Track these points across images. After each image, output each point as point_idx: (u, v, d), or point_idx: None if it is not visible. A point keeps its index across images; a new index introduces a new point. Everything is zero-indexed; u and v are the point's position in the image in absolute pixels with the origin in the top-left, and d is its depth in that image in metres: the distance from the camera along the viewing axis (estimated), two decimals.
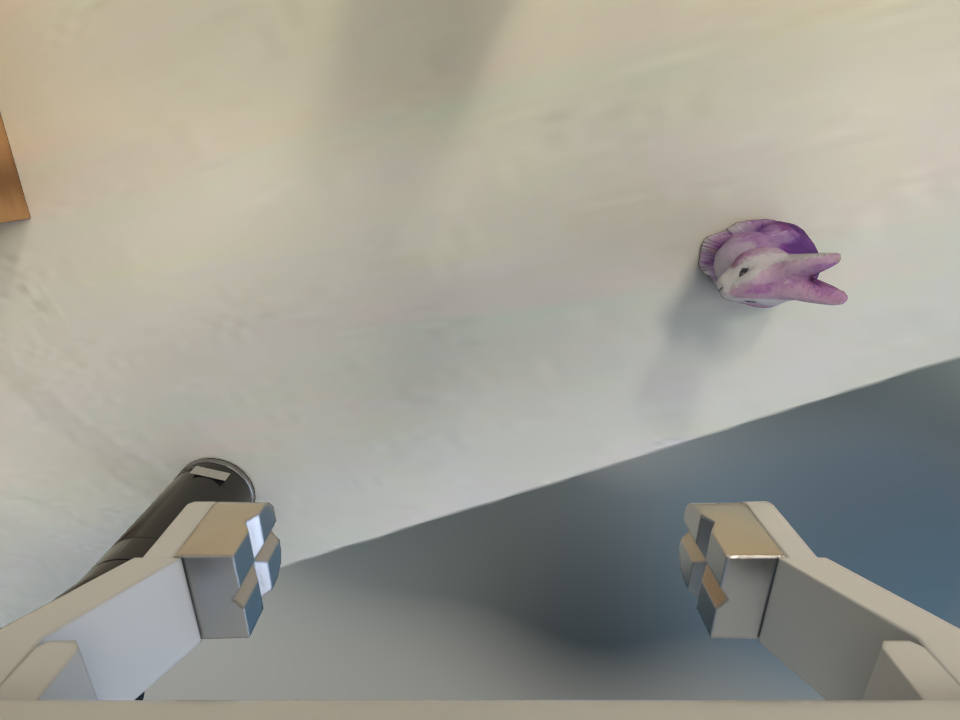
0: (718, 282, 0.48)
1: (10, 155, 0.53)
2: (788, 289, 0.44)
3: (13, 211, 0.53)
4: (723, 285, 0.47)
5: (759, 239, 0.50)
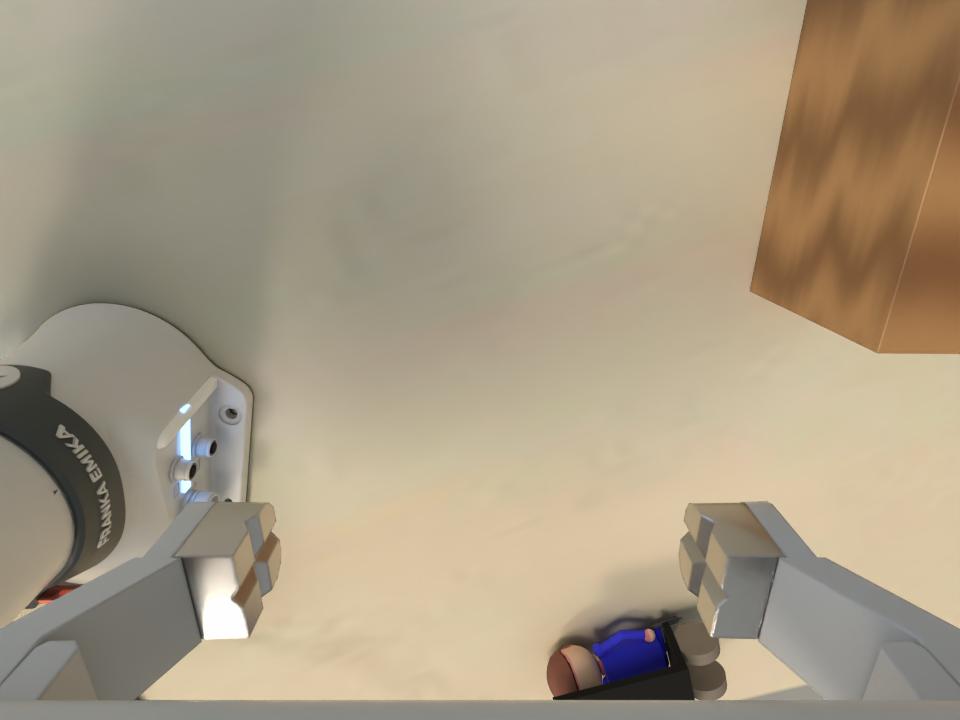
0: None
1: (800, 44, 0.33)
2: None
3: None
4: None
5: None
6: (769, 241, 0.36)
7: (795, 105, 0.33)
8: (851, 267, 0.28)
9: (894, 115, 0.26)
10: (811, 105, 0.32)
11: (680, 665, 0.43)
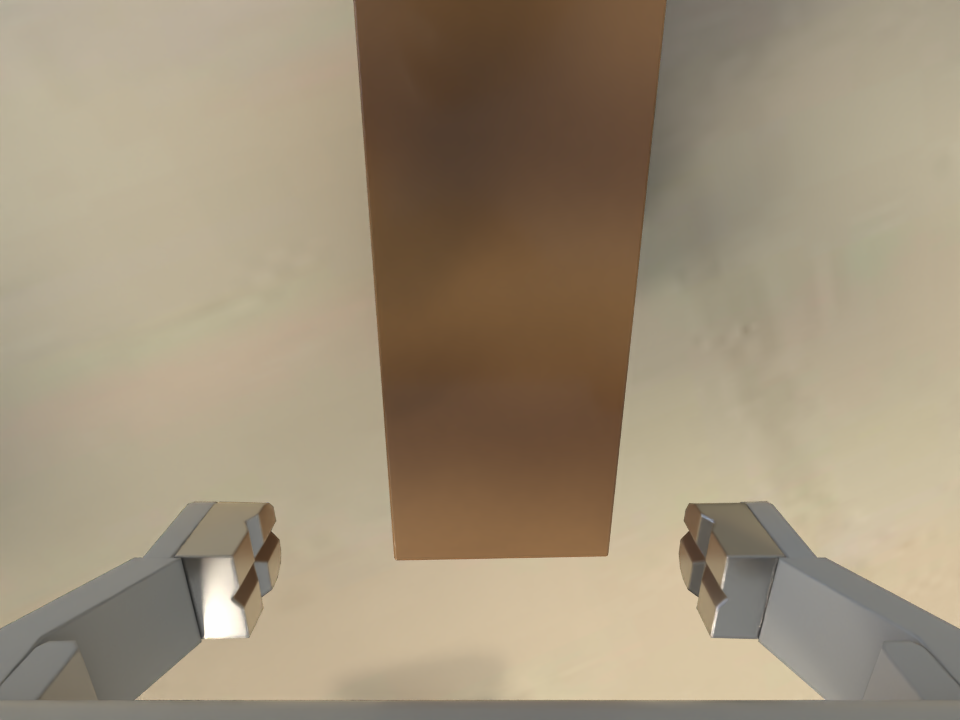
0: None
1: None
2: None
3: None
4: None
5: None
6: None
7: None
8: None
9: None
10: None
11: None
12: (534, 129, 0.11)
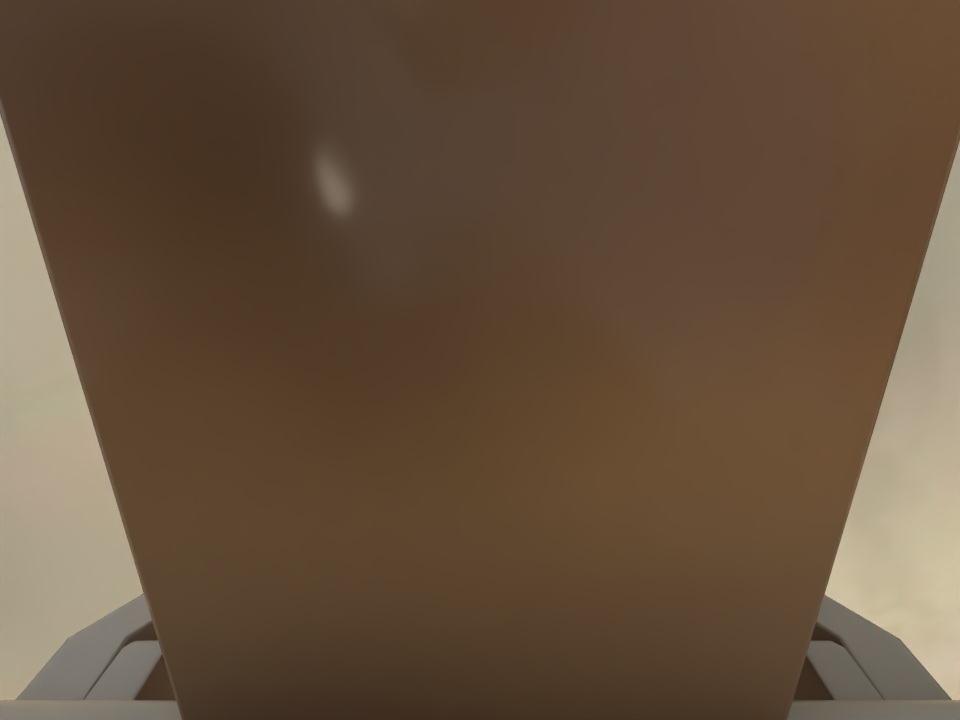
0: None
1: None
2: None
3: None
4: None
5: None
6: None
7: None
8: None
9: None
10: None
11: None
12: (571, 106, 0.03)
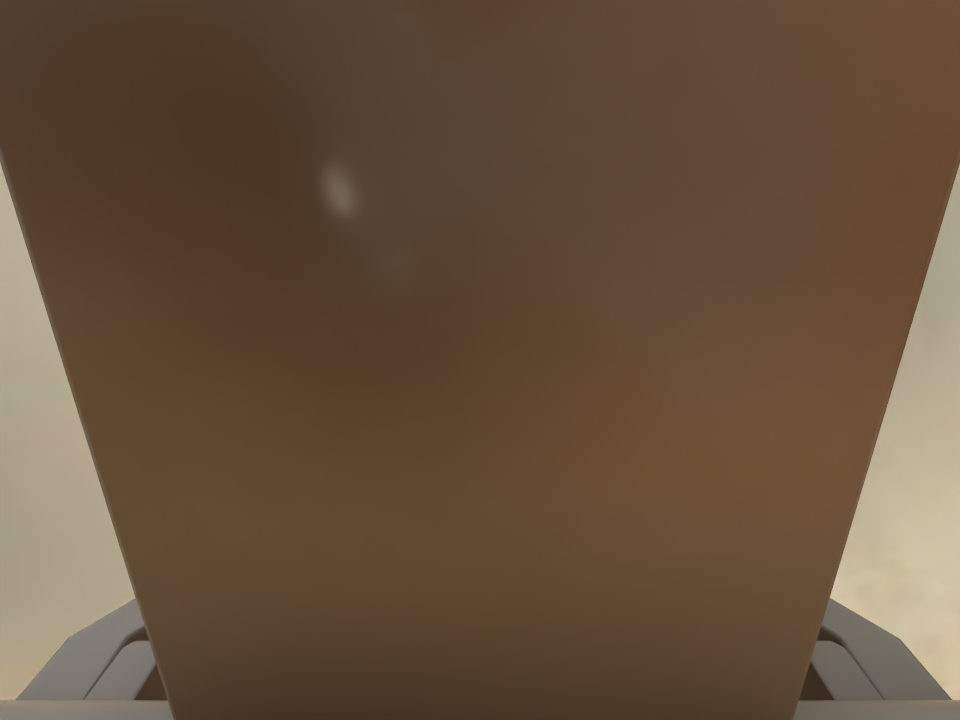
0: None
1: None
2: None
3: None
4: None
5: None
6: None
7: None
8: None
9: None
10: None
11: None
12: (566, 101, 0.03)
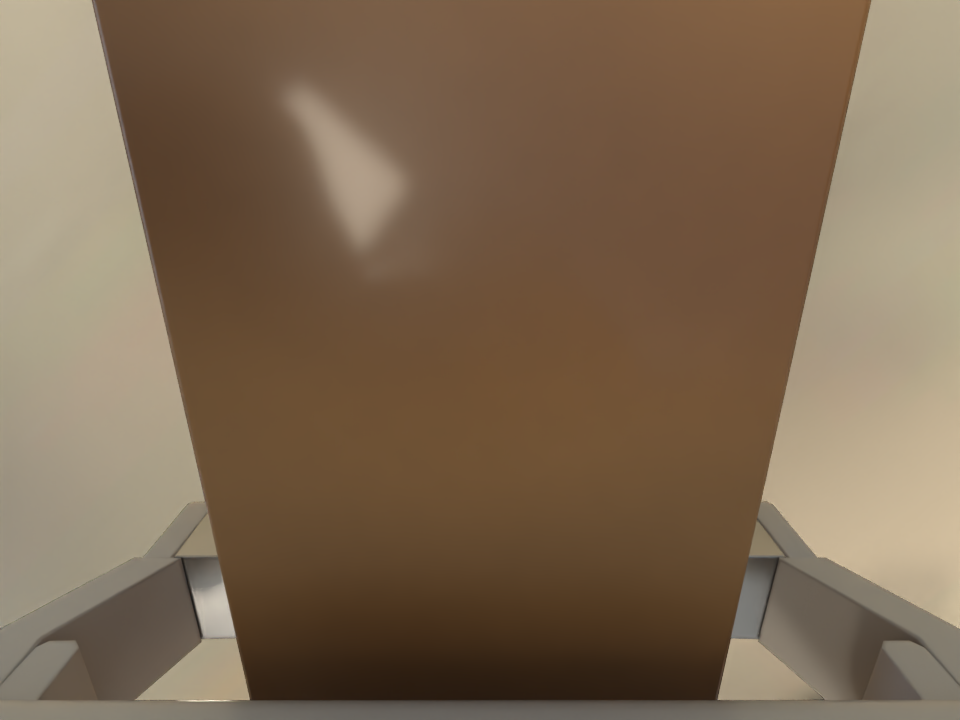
0: None
1: None
2: None
3: None
4: None
5: None
6: None
7: None
8: None
9: None
10: None
11: None
12: (543, 182, 0.05)
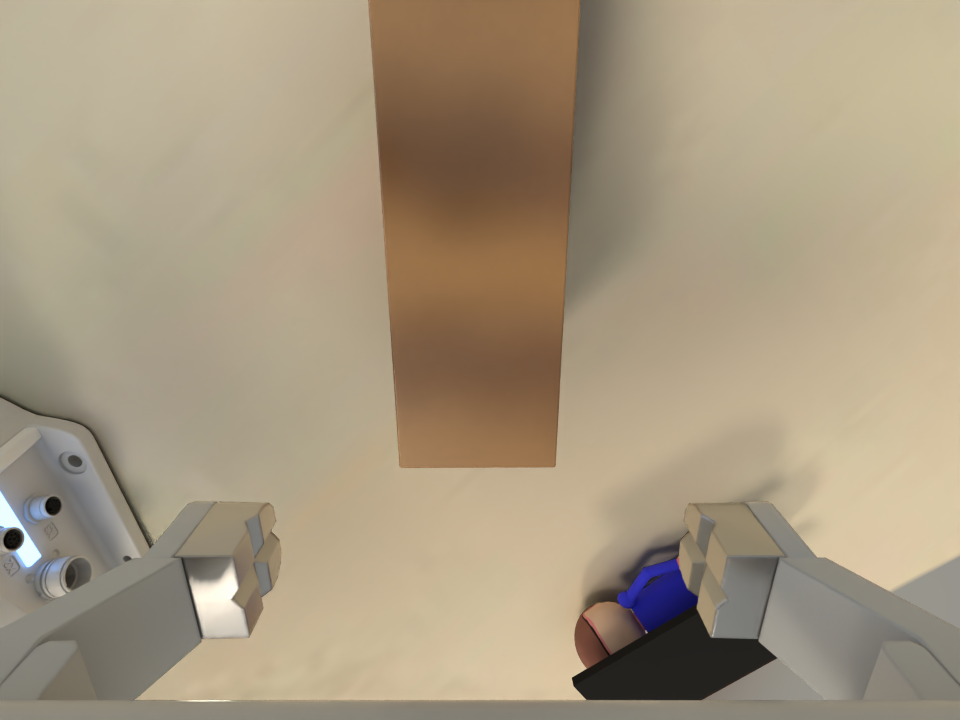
0: None
1: None
2: None
3: None
4: None
5: None
6: None
7: None
8: None
9: None
10: None
11: None
12: (492, 161, 0.17)
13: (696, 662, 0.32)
